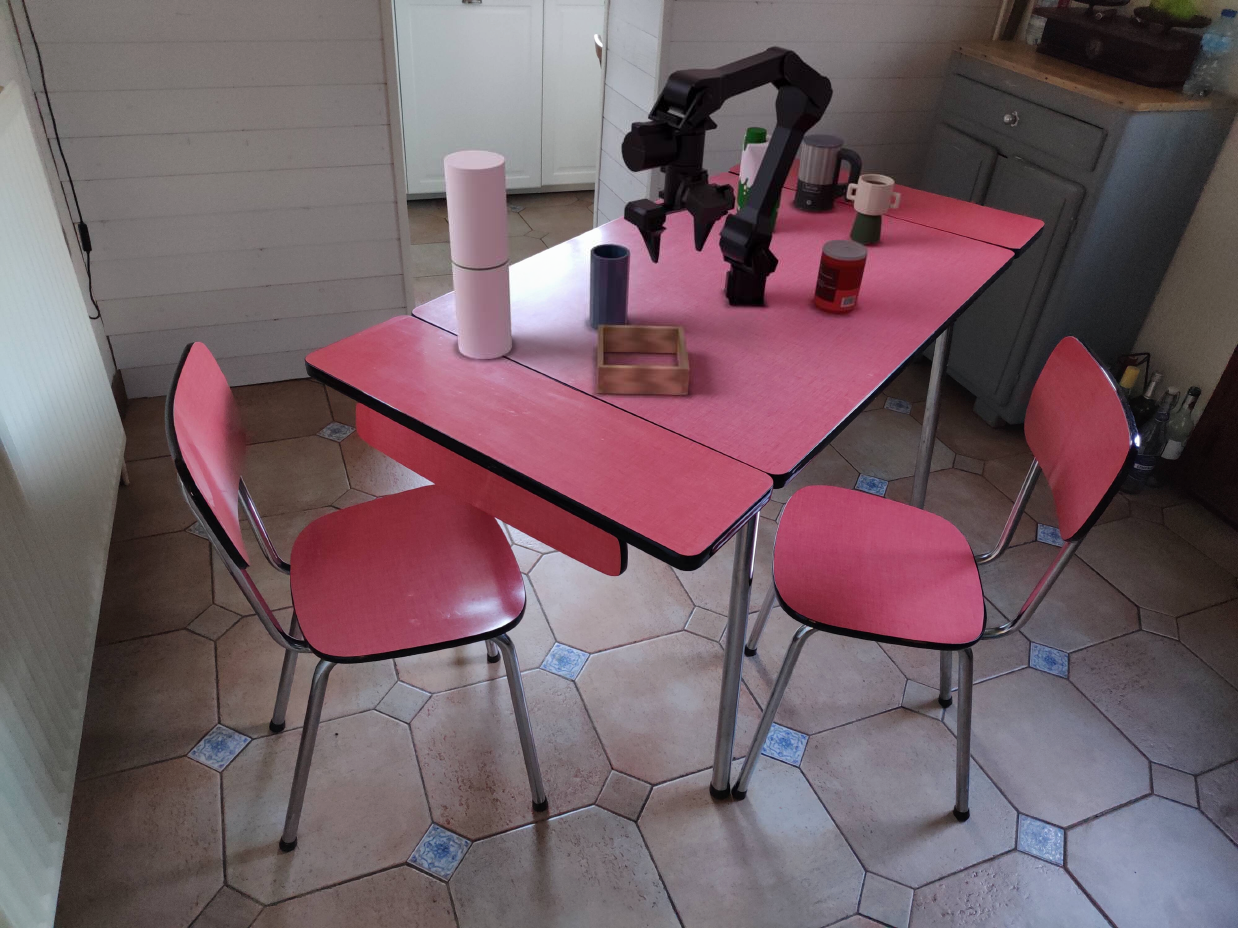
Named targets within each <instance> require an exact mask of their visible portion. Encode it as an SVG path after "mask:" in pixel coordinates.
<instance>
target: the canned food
mask: <svg viewBox="0 0 1238 928" xmlns="http://www.w3.org/2000/svg"><path fill="white" fill-rule="evenodd" d="M868 253H869V250H868V248H867V246H865V244H862V243H858V242H856V241H854V240H848V239H834V240H829V241H826V242H825V243H824V244H823V246H822V250H821V255H820V260H819V267H818V272H817V278H816V284H815V290H814V296H813V304H814V307H815V309H817V310H819V311H821V312H823V313H826V314H829V315H838V316H839V315H840V316H841V315H847V314H850V313H852V312H854V311H855V308H856V307H857V305H858V300H859V296H860V292H861V291H860V290H861V286H862V282H863V277H864V272H865V268H866V263H867V259H868Z"/></svg>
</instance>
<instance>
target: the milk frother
mask: <svg viewBox="0 0 1238 928" xmlns="http://www.w3.org/2000/svg"><path fill="white" fill-rule="evenodd" d="M843 145H845V140H844V139H843V138H841V137H839V136H836V135H831V134H823V133H813V134H805V135H804V137H803V139H802V146H801V154H800V160H799V161H800V162H799V168H798V175H797V182H796V189H795V193H794V199H793V201H792V205H793V206H794V207H795V208H796V209H798V210H801V211H805V212H811V213H825V212H829V211H832V210H833V209H834V207H835V205H834V202H835V201H836V200H838V199H840V198H842V197H843V201H844V202H845V203H851V202H852V201H853V200H849V199H847V191H848V186H849V184H857V185H858V181H859V178H860V176H861V173H862V168H863V161H862V157H861V156H860V155H859V153H858V152H857V151H855V150H853V149H849V148H845V147H843ZM843 161H846V162H848V163H849V165H850V171H849V175H848V179H847V182H839V178H840V172H841V166H842V162H843ZM856 191H857V189H853V190H852V195H853V196H856Z"/></svg>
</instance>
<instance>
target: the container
mask: <svg viewBox="0 0 1238 928" xmlns="http://www.w3.org/2000/svg"><path fill="white" fill-rule="evenodd" d="M505 159H506V158H505V157H504V156H503V155H501V154H500V153H497V152H493V151H489V150H481V149H480V150H479V149H478V150H477V149H471V150H470V149H469V150H460V151H456V152H452V153H449V154H447V155H445V157H444V158H443V168H444V169H443V170H444V180H445V193H446V204H447V218H448V230H449V243H450V244H449V245H450V254H451V256H450V257H451V269H452V278H453V279H452V283H453V294H454V307H455V317H456V318H455V319H456V320H455V321H456V330H457V331H456V332H457V343H458V350H459V352H460V353H461V354H462V355H464V356H465V357H468V358H470V359H475V360H476V359H477V360H492V359H497V358H500V357H503V356H505V355H507V354H508V353H510V352H511V350H512V348H513V338H512V337H513V336H512V313H511V310H512V309H511V288H510V286H511V285H510V263H509V262H510V260H509V258H510V257H509V236H508V235H509V234H508V233H509V232H508V209H507V206H508V205H507V183H506V179H507V178H506V160H505Z"/></svg>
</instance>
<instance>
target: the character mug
mask: <svg viewBox="0 0 1238 928" xmlns="http://www.w3.org/2000/svg"><path fill="white" fill-rule="evenodd" d="M894 186H895V180H894V179H893V178H891V177H889V176H886V175H884V174H877V173H875V174H874V173H868V174H867V173H866V174H862V175H860V177H859V181H858V185H857V184H849V186H848V191H847V199H849V200H852V201H854V202H853V209H854V210H855V211H856V212H857V214H856V215H855V218H854V221H853V224H852V226H851V230H850V234H849V237H850V239H851V241H854V242H857V243H860V244H862V245H871V244H875V243H878V242H880V241H881V234H882V224H883V223H882V222H883V216H882V215H885V214H886V213H888V211H889V210H890V209H892V210H893V209H894V210H898V209H899V207H900V203H901V199H902V193H900V192H897V191H894ZM853 189H856V192H855V196H853V195H852V190H853ZM892 197H893V198H895V200H894V203H891V201H892Z"/></svg>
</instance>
